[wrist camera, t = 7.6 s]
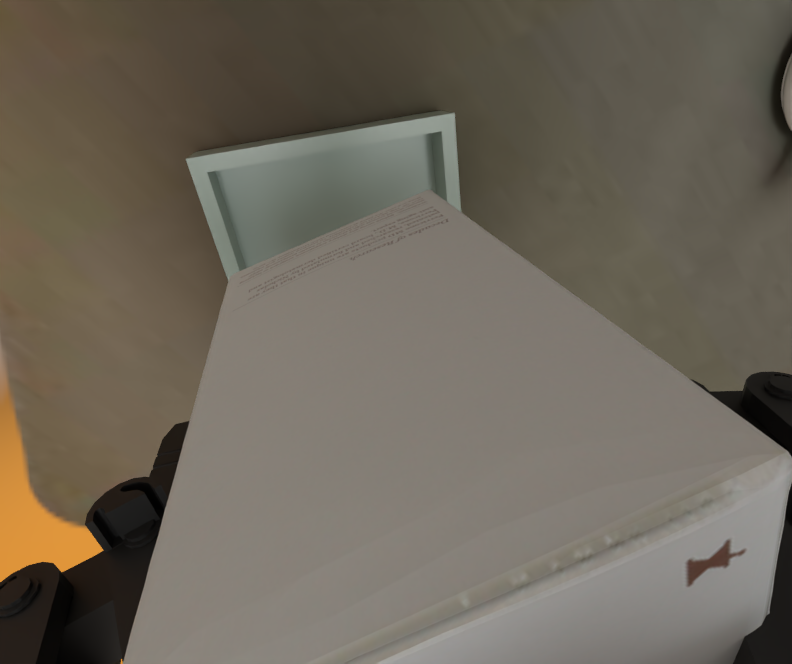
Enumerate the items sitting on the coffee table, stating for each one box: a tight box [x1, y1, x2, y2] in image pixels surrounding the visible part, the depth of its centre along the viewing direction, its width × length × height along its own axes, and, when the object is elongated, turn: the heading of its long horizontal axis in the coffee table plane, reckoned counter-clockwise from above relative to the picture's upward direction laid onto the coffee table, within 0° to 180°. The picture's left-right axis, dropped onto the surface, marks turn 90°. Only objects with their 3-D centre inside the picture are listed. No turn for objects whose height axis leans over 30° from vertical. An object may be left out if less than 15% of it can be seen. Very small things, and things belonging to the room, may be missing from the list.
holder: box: [186, 110, 461, 281], centre depth 27 cm, size 21×12×2 cm, turn 8°
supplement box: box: [123, 190, 792, 664], centre depth 11 cm, size 7×7×13 cm
